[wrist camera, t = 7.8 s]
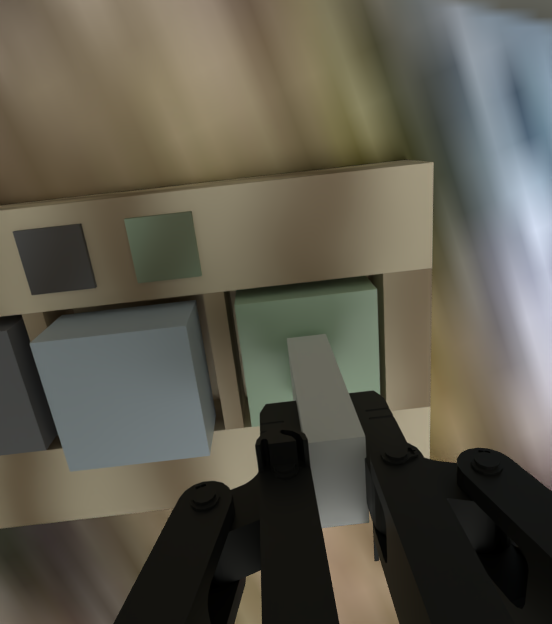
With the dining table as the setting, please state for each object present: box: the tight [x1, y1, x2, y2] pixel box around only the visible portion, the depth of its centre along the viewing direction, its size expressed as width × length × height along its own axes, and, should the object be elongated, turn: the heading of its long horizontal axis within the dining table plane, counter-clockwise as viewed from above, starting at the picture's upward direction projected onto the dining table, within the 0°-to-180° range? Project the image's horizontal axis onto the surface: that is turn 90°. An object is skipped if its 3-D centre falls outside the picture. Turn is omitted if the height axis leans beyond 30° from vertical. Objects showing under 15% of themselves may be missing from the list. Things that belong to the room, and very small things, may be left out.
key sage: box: [234, 276, 380, 427], centre depth 20 cm, size 5×5×3 cm
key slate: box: [29, 300, 216, 472], centre depth 18 cm, size 5×5×3 cm
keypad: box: [0, 160, 434, 529], centre depth 20 cm, size 24×14×3 cm, turn 96°
